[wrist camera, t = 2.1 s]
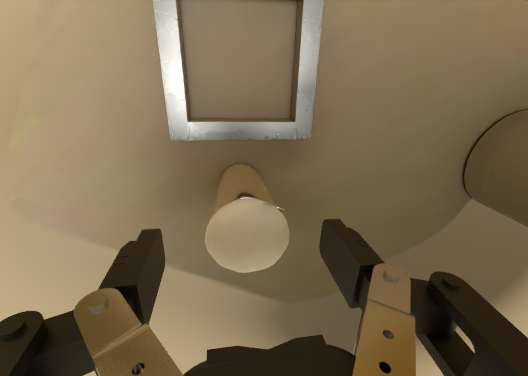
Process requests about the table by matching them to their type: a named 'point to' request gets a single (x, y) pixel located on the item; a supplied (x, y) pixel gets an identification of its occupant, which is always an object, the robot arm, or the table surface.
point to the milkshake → (245, 223)
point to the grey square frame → (238, 128)
